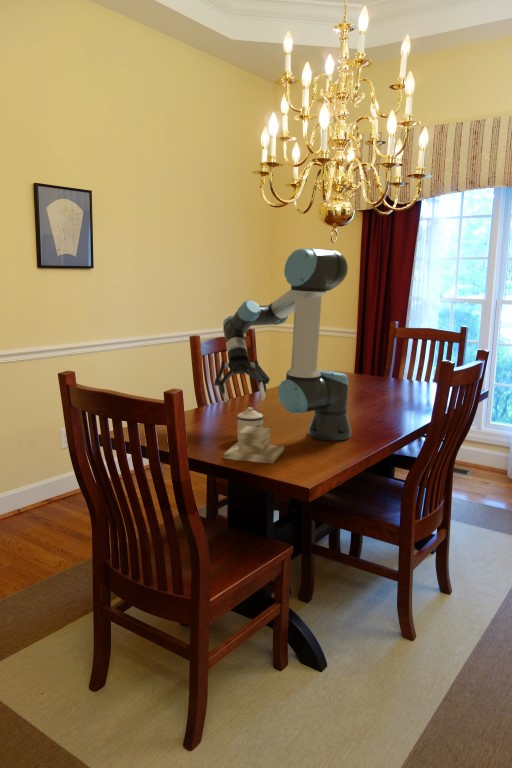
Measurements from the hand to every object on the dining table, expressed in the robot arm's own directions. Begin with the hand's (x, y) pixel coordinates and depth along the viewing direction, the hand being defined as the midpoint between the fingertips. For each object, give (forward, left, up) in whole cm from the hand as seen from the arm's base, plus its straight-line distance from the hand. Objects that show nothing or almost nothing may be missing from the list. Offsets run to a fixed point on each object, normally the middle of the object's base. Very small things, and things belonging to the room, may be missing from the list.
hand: (245, 399), depth 208 cm
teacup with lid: (-5, +7, -13) cm, 15 cm away
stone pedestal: (-11, +23, -12) cm, 28 cm away
